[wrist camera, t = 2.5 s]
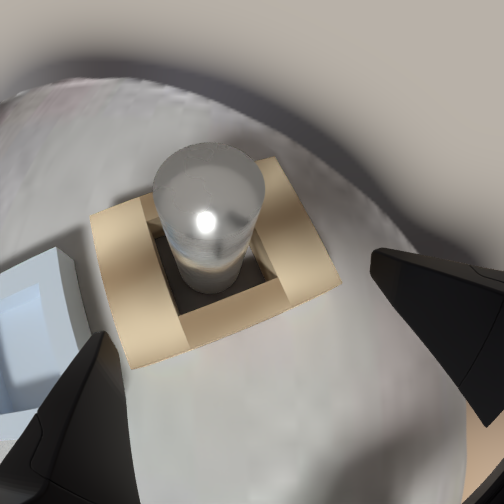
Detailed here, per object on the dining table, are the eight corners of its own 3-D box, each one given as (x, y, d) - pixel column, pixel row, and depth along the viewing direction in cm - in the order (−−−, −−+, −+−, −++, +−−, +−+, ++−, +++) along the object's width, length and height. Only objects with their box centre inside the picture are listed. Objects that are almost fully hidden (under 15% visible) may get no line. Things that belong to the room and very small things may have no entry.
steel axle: (250, 280, 20) (284, 214, 11) (191, 303, 19) (170, 254, 9) (226, 226, 21) (239, 133, 12) (170, 246, 20) (142, 160, 11)
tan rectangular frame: (325, 292, 20) (342, 283, 17) (143, 367, 17) (131, 369, 14) (267, 178, 23) (274, 156, 20) (103, 233, 19) (89, 216, 17)
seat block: (122, 415, 15) (107, 424, 12) (13, 435, 12) (-6, 441, 9) (73, 260, 18) (56, 246, 16) (-21, 303, 15) (-41, 296, 13)
